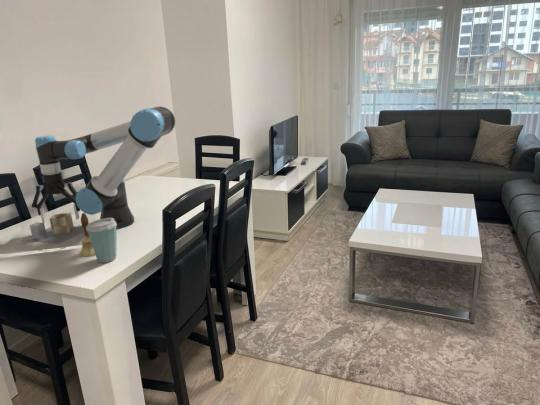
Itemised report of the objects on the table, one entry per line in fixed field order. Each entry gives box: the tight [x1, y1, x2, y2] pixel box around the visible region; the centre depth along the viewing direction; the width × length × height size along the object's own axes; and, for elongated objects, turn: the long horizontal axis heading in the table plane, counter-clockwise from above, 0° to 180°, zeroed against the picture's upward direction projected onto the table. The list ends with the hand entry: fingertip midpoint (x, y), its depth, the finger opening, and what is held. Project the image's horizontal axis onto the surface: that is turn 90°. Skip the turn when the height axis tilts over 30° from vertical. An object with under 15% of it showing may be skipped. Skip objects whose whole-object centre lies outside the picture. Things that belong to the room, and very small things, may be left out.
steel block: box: [29, 222, 47, 241], centre depth 178 cm, size 4×4×8 cm
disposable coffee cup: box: [86, 218, 117, 263], centre depth 156 cm, size 11×11×15 cm
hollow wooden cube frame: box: [49, 212, 75, 234], centre depth 186 cm, size 7×7×7 cm
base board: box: [20, 226, 84, 245], centre depth 183 cm, size 20×19×2 cm
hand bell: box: [78, 212, 96, 258], centre depth 163 cm, size 8×8×16 cm
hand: (61, 220), depth 185 cm, fingers open, 13 cm apart
